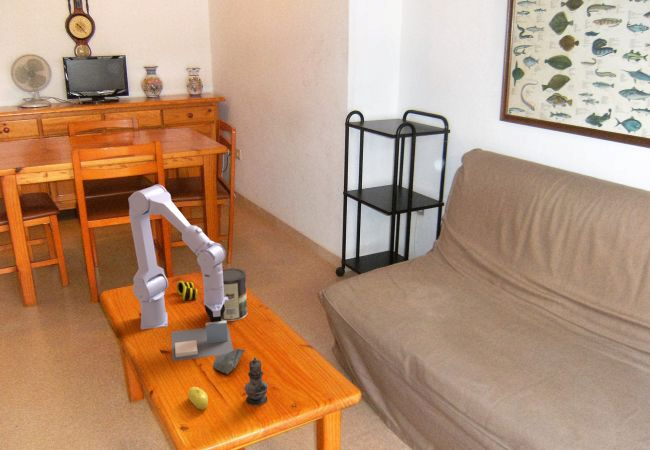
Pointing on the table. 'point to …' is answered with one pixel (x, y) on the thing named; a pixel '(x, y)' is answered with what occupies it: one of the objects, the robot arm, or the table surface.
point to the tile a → (186, 349)
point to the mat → (200, 343)
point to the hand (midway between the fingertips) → (216, 327)
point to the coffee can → (234, 294)
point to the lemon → (198, 397)
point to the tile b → (216, 332)
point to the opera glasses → (186, 290)
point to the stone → (228, 361)
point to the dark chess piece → (256, 385)
